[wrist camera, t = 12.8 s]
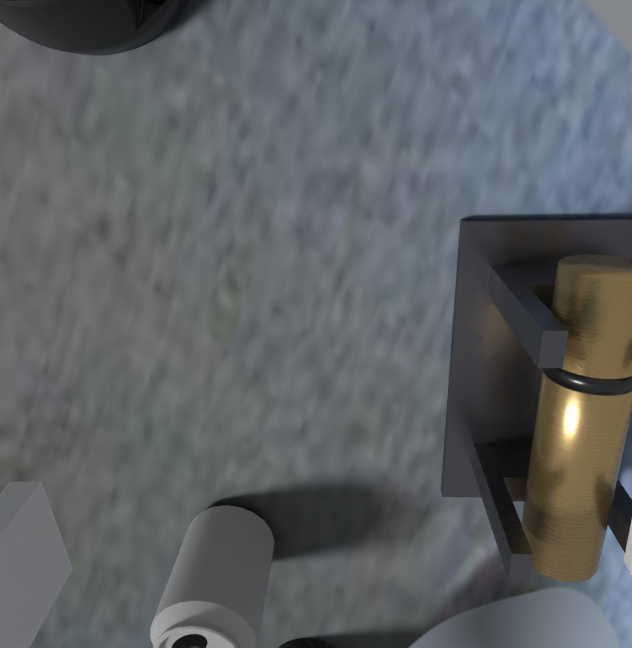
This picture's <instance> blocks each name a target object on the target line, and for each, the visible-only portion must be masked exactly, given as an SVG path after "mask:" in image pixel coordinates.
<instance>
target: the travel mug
mask: <svg viewBox="0 0 632 648" xmlns="http://www.w3.org/2000/svg"><path fill="white" fill-rule="evenodd" d="M279 648H333V647H331V646H330V645H328V644H326V643H324V642H321V641H318V640H313V639H297V640H292V641H289V642H287V643H285V644H283V645H281V646H280V647H279Z"/></svg>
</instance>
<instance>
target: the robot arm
mask: <svg viewBox="0 0 632 648" xmlns="http://www.w3.org/2000/svg"><path fill="white" fill-rule="evenodd" d="M188 1H189V0H0V23H2V24H3V25H5V26H6V27H8V28H9V29H11V30H12V31H14V32H15V33H17V34H19V35H21V36H23V37H25V38H27V39H29V40H31V41H33V42H35V43H38V44H40V45H43V46H45V47H48V48H52V49H56V50H59V51H65V52H71V53H77V54H84V55H111V54H117V53H121V52H125V51H129V50H131V49H134V48H137V47H139V46H141V45H143V44H145V43H147V42H149V41H150V40H152V39H154V38H155V37H156V36H158V35H159V34H160V33H162V32H163V31H164V30H165V29H166V28H167V27H169V26H170V25H171V24H172V23H173V22H174V20H175V19H176V18H177V17H178V16H179V15H180V13H181V12H182V10H183V9H184V8H185V6H186V5H187V3H188ZM624 562H625V564H626V566H627V568H628V570H629V571H630V573H631V575H632V521H631V526H630V531H629V536H628V541H627V546H626V551H625V557H624ZM72 570H73V568H72V565H71V562H70V560H69V557H68V554H67V551H66V549H65V546H64V543H63V540H62V537H61V535H60V532H59V529H58V526H57V523H56V521H55V518H54V515H53V512H52V509H51V507H50V504H49V501H48V498H47V496H46V493H45V490H44V487H43V484H42V482H41V481H34V482H9V483H8V485H7V486H6V487H5V488H4V490H3V491H2V492H1V493H0V648H30V646H31V644H32V642H33V640H34V639H35V637H36V635H37V633H38V631H39V630H40V628H41V626H42V624H43V622H44V621H45V619H46V617H47V615H48V613H49V612H50V610H51V608H52V606H53V604H54V603H55V601H56V599H57V597H58V595H59V594H60V592H61V590H62V588H63V586H64V585H65V583H66V581H67V579H68V577H69V576H70V574H71V572H72Z"/></svg>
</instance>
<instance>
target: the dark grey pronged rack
mask: <svg viewBox="0 0 632 648" xmlns="http://www.w3.org/2000/svg"><path fill="white" fill-rule="evenodd" d="M592 254H594V255H612V256H620V257H627V258H632V217H606V218H532V219H461V220H460V234H459V248H458V262H457V275H456V289H455V303H454V317H453V331H452V345H451V358H450V372H449V386H448V400H447V414H446V428H445V442H444V455H443V469H442V483H441V492H442V497H482V500H483V503H484V506H485V509H486V512H487V515H488V518H489V521H490V524H491V528H492V531H493V534H494V537H495V540H496V543H497V546H498V549H499V552H500V555H501V559H502V562H503V565H504V568H505V571H506V574H507V577H508V580H527V581H529V578H530V572H531V566H532V559H533V553H532V550H531V548H530V545H529V542H528V540H527V537H526V535H525V532H524V530H523V527H522V525H521V522H520V520H519V517H518V515H517V512H516V509H515V507H514V504H513V502H512V501H525V494H526V487H527V480H528V473H529V466H530V459H531V451H532V444H533V437H534V430H535V423H536V416H537V409H538V402H539V395H540V387H541V380H542V373H543V369H542V368H563V363H564V356H565V350H566V344H567V337H568V330H567V329H566V328H565V327H564V325H563V324H562V323H561V322H560V321H559V320H558V319H557V318H556V317H555V316H554V315H553V313H552V312H551V309H552V302H553V295H554V288H555V281H556V274H557V266H558V261H559V260H561V259H562V258H565V257H569V256H575V255H592ZM631 521H632V499H631V498H630V496H629V495H628V493H627V492H626V491H625V489H624V488H623V486H622V485H621V483H620V482H619V480H618V479H617V483H616V488H615V493H614V497H613V502H612V507H611V511H610V516H609V521H608V525H609V527H610V529H611V530H612V532H613V534H614V535H615V537H616V539H617V541H618V542H619V544H620V546H621V547H622V549H623V551H624V552H625V551H626V546H627V541H628V536H629V531H630V526H631Z"/></svg>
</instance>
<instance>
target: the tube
mask: <svg viewBox="0 0 632 648" xmlns="http://www.w3.org/2000/svg"><path fill="white" fill-rule="evenodd" d="M551 312H552V313H553V315H554V316H555V317H556V318H557V319H558V320H559V321H560V322H561V323H562V324H563V325H564V327H565V328H566V329H567V330H568V337H567V344H566V350H565V356H564V363H563V368H542V369H543V373H542V380H541V387H540V395H539V402H538V409H537V416H536V423H535V430H534V437H533V444H532V451H531V459H530V466H529V473H528V480H527V487H526V494H525V501H524V508H523V515H522V523H521V525H522V527H523V530H524V532H525V535H526V537H527V540H528V542H529V545H530V548H531V550H532V553H533V559H532V566H531V567H532V568H534V569H535V570H536V571H538V572H540V573H541V574H543V575H545V576H547V577H550V578H552V579H555V580H559V581H564V582H580V581H584V580H587V579H589V578H591V577H592V576H594V575H595V573H596V572H597V570H598V567H599V562H600V558H601V553H602V549H603V544H604V539H605V535H606V530H607V525H608V521H609V516H610V511H611V507H612V502H613V497H614V493H615V488H616V483H617V479H618V474H619V469H620V465H621V460H622V455H623V451H624V446H625V441H626V437H627V432H628V428H629V423H630V418H631V414H632V258H627V257H620V256H612V255H594V254H592V255H575V256H569V257H565V258H562V259H561V260H559V261H558V266H557V274H556V281H555V288H554V295H553V302H552V309H551Z"/></svg>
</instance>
